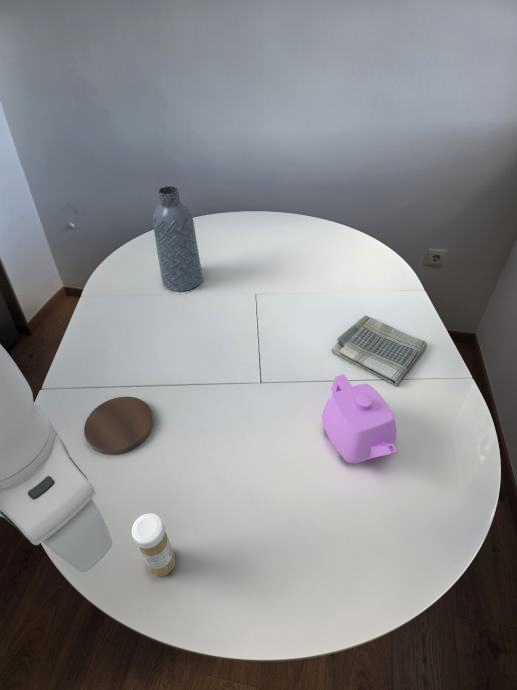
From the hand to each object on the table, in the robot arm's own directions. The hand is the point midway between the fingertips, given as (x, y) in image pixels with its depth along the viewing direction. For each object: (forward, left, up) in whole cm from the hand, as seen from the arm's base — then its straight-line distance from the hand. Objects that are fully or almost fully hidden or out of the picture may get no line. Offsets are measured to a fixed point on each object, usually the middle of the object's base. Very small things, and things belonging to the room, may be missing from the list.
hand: (61, 521), depth 51 cm
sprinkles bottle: (+8, -3, -25) cm, 27 cm away
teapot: (+49, -16, -25) cm, 57 cm away
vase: (+67, +54, -25) cm, 90 cm away
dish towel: (+76, -7, -25) cm, 80 cm away
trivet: (+21, +25, -25) cm, 41 cm away
